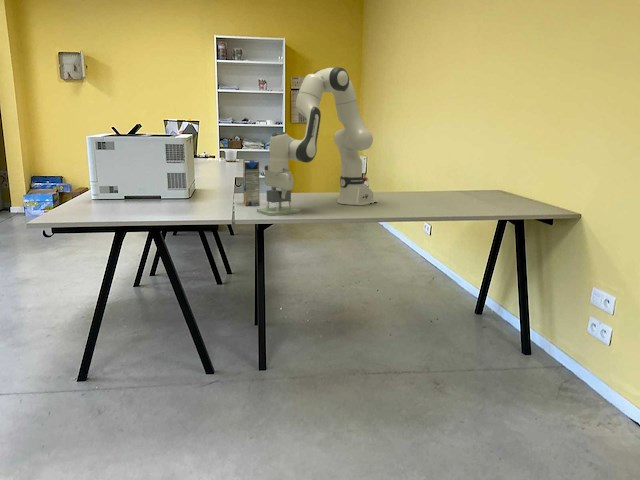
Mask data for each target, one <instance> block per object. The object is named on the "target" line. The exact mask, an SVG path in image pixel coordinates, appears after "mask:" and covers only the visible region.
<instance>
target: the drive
mask: <svg viewBox="0 0 640 480" xmlns="http://www.w3.org/2000/svg"><path fill="white" fill-rule="evenodd" d="M281 194H282V190H281V189H280V188H277V189H276V190H271V189H267V190H266V202H267V201H269V203H271V204H273V203H274V204H276V203H279V202H282V203H285V202H289V201H291V202H292V190H287V192H286V195H285V199H282V198H280V197H281V196H280V195H281Z"/></svg>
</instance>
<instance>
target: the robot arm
mask: <svg viewBox="0 0 640 480" xmlns="http://www.w3.org/2000/svg"><path fill="white" fill-rule="evenodd" d="M323 93H332V94H333V97H334V105H335V109H336V114H337V115H336V116H337V119H338V121H339V122H340V123H341V124H342V126H343V127H344V128H341V129H338V130H337V131H336V132H335V134H334V137H333V142H334V144H335V146H336V147H337V148H338V151H339V156H340V162H341V165H340V166H341V167H340V169H341V170H340V176H339V177H340V178H339V183H340V185H339V194H338V199H337V201H336V202H337V204H341V205H350V206H354V205H355V206H365V205H371V204H370V203H372V204H375V203H374V202H377V203H378V200H377V199H375V198H374V192H373V190H372V189H371V188H370V187H369V186H367V185H366V184H365V182H368V180H369V178H368V177H366V176H365V177H363V160H362V159H361V158H360V155H359V151H365V150H368V149H370V148H372V147H371V146H372V145H373V142H374V137H373V134H372V133H371V132H370V131H369V130H368V129H367V127H366V126H365V124H364V121H363V119H362V117H361V114H360V110H359V104H358V98H357V94H356V91H355V87H354V85H353V82H352V81H351V80H350V76H349V73H348V71H347V70H346V69H345V68H343V67H339V66H337V67H336V66H335V67H327V68H323V69H321V70H320V69H318V70H316V71H314V72H313V73H309V74H307V75H306V76H305V77H304V79H303V80H302V83H301V84H300V88H299V89H298V92H297V96H296V100H295V107H296V110H297V111H298V112H299V114H300V115H301V116H303V117H304V118H305V119H306V127H305V131H304V132H305V134H304V137H303V138H302V139H295V138H293V137H291V136H290V135H289V134H288V133H287V132H285V131H278V132H273V133H272V134H271V135H270V137H269V143H268V144H269V155H270V156H269V163H267V164H266V165H264V167H263V170H264V183H265V186H268V187H270V188H271V189H270V190H277V189H281V190H282V194H281V195H280V196H281V197H280V198H282V199H285V195H286V192H287V190H291V191H292V190H293V189H294V176H293V174H292V172H291V170H290V169H289V160H291V161H298V162H301V163H307V164H308V163H310V162H312V161H313V160H314V159H315V157H316V155H317V150H318V149H317V148H318V147H317V143H318V138H319V137H318V136H319V130H320V124H321V116H322V115H321V114H322V113H321V110H320V104H321V100H322V96H323Z"/></svg>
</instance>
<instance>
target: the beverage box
mask: <svg viewBox="0 0 640 480" xmlns="http://www.w3.org/2000/svg"><path fill="white" fill-rule="evenodd" d="M242 169H243V170H242V171H243V172H242V173H243V176H242V177H243V178H242V179H243V181H242V182H243V204H244V206H245V207H260V161H258V160H257V159H256V160H255V159H254V160H253V159H251V160H250V159H246V160H245V159H243V160H242Z"/></svg>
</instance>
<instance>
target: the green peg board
mask: <svg viewBox="0 0 640 480" xmlns="http://www.w3.org/2000/svg"><path fill="white" fill-rule="evenodd" d="M282 203H283V202H275V204H276V206H275V207H274V206H273V207H270V202H269V201H267V200H266V202H265V208H257V209H256V212H257V213H258V214H259V213H260V214H261V215H266V216H269V217H273V216H274V217H275V216H281V215H282V216H283V215H291V214H300V213H301V212H302V211H301V209H298V208H295V207H292V200H291V201H288V205H285V206H283V205H282Z"/></svg>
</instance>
